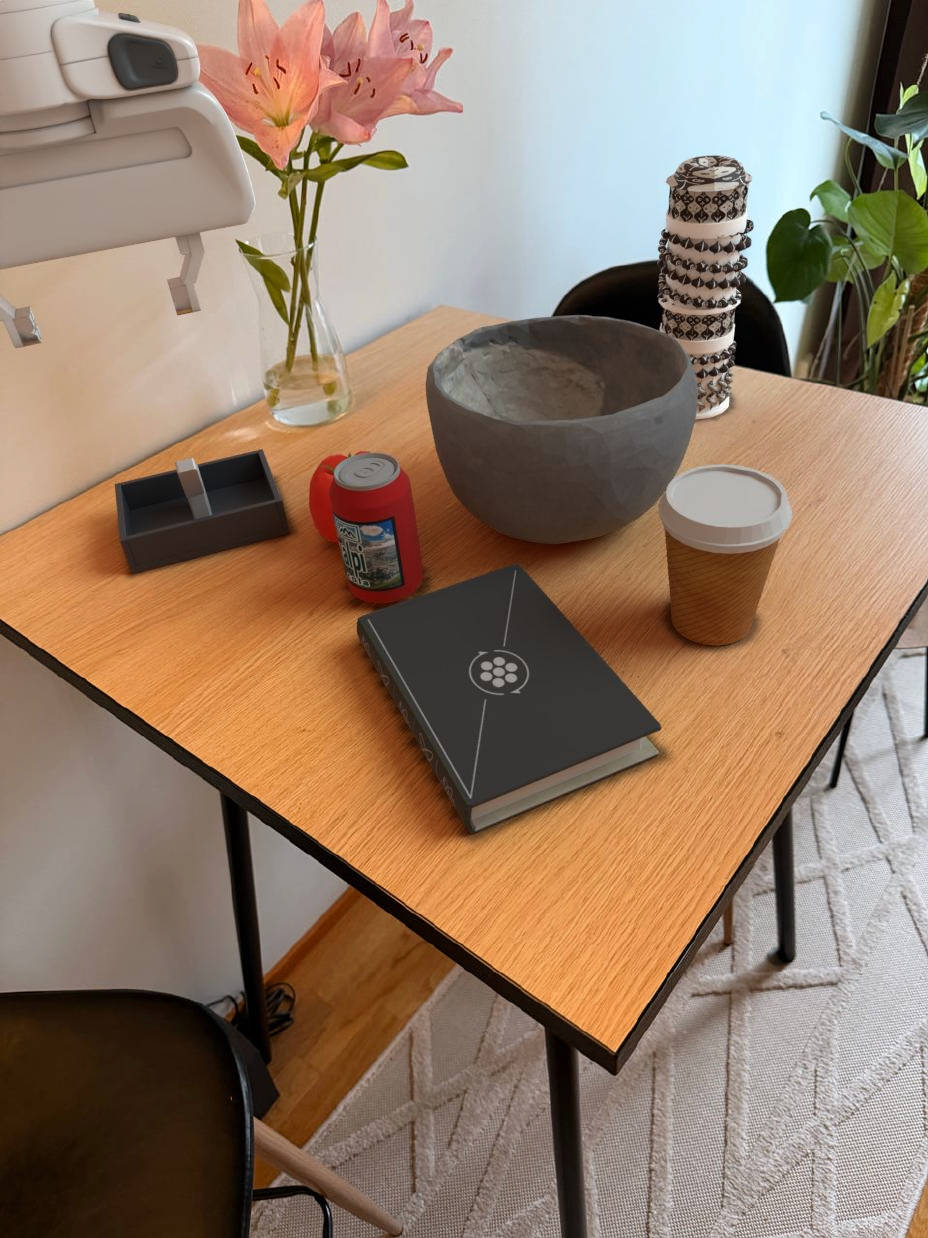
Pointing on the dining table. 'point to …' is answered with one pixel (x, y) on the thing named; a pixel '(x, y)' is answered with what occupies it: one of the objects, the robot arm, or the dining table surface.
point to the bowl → (561, 423)
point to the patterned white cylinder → (705, 269)
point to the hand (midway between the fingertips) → (110, 326)
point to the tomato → (325, 496)
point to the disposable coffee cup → (720, 547)
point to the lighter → (193, 487)
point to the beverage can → (376, 527)
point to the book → (504, 695)
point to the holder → (170, 534)
